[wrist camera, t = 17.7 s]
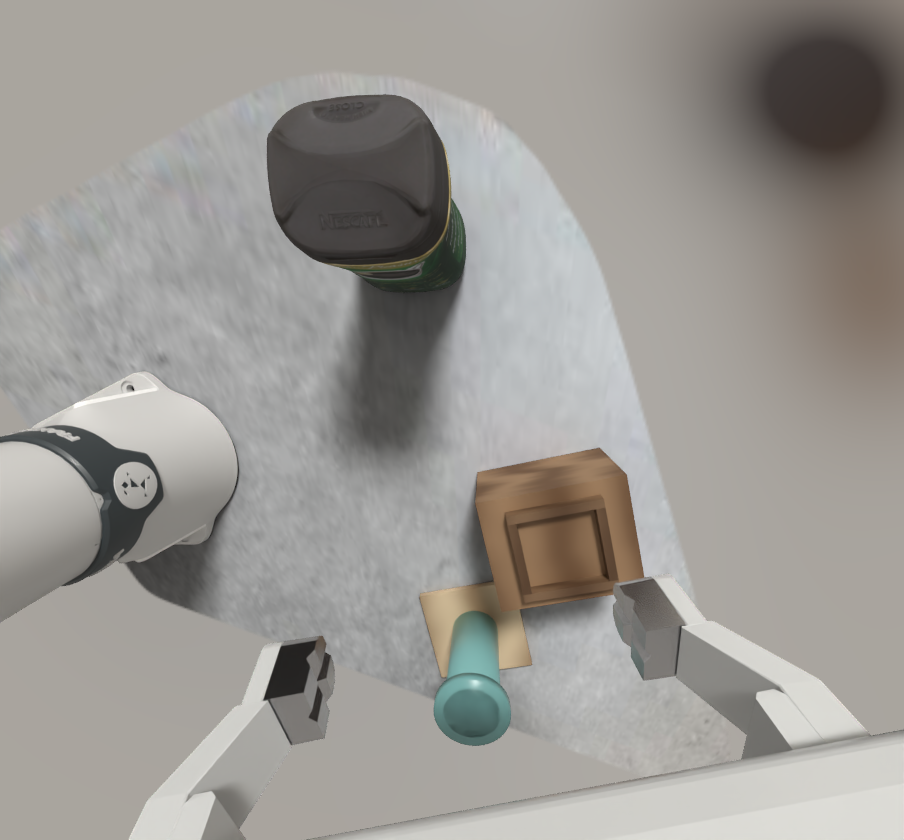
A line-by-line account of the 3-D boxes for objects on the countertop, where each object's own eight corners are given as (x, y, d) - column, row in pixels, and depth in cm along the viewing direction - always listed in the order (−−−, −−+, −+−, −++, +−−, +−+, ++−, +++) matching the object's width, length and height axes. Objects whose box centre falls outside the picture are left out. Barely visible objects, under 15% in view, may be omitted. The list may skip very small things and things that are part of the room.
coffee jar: (465, 197, 37) (443, 62, 19) (467, 291, 38) (449, 249, 20) (358, 204, 38) (238, 82, 20) (364, 295, 39) (258, 260, 21)
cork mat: (442, 673, 47) (441, 677, 46) (420, 593, 45) (419, 597, 44) (531, 660, 45) (532, 664, 45) (512, 578, 44) (512, 581, 43)
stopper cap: (447, 656, 45) (436, 744, 36) (443, 603, 44) (431, 679, 34) (506, 657, 45) (512, 746, 35) (504, 603, 44) (509, 680, 34)
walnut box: (498, 562, 43) (501, 619, 35) (477, 472, 42) (474, 508, 33) (616, 542, 42) (651, 596, 33) (599, 447, 40) (630, 478, 31)
